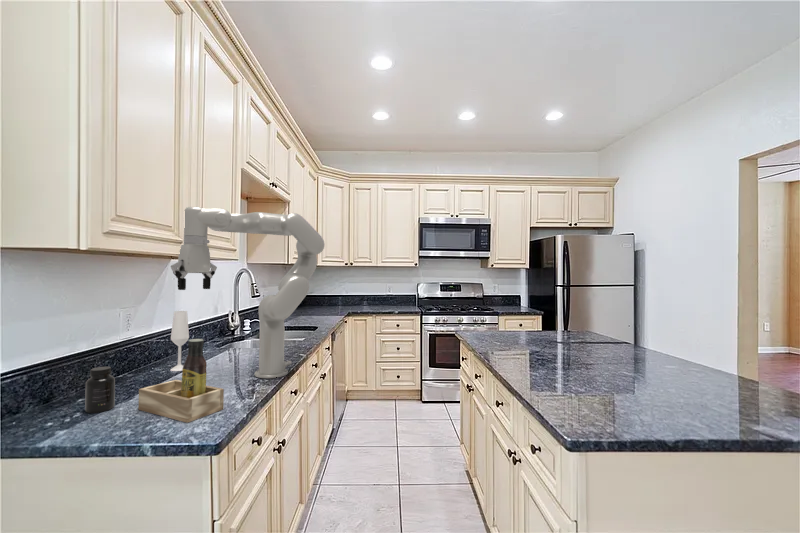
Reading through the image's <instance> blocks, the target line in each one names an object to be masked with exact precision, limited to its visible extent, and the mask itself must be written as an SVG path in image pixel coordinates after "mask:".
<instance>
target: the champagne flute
mask: <svg viewBox="0 0 800 533" xmlns="http://www.w3.org/2000/svg"><path fill="white" fill-rule="evenodd" d="M170 340H171V342H172V343H174V344H175V345H176V346H177V348H178V349H177V364H176V365H175V366H174V367H172V368H170V370H169V371H171V372H181V371H182V369H183V366H184V364H182V346H183V345H184V344H186V342H187V343H188V341H189V340H190V332H189V318H188V311H187V310H178V311H177V310H176V311H173V317H172V326H171V333H170Z"/></svg>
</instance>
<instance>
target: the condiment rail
mask: <svg viewBox="0 0 800 533" xmlns="http://www.w3.org/2000/svg"><path fill="white" fill-rule="evenodd" d="M181 387H182V379H181V380H179V379H173V380H170V381H165V382H162V383H157V384H154V385H149V386H145V387H141V388H139V389H138V404H137V405H138V408H137V409H138V410H139V411H142V412H145V413H150V414H153V415H157V416H161V417H164V418H168V419H172V420H176V421H179V422H183V423H187V424H188V423H190V422H193V421H196V420H198V419H202V418H205V417H206V416H210V415H212V414H215V413H217V412H220V411H223V410H224V402H225V401H224V400H225V399H224V395H225V394H224V391H225V389H224V388H223V387H216V386H212V385H206V391H205V393H204V394H201V395H198V396H195V397H192V398H186V397H181Z"/></svg>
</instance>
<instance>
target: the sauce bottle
mask: <svg viewBox="0 0 800 533" xmlns="http://www.w3.org/2000/svg"><path fill="white" fill-rule="evenodd" d="M204 345H205V339H203V338H192V339H188V340H187V346H188V353H187V356H186V358H185V361H184V364H183V369H182V372H181V375H182V376H181V381H182V387H181V397H186V398H192V397H195V396H198V395H201V394H204V393H205V391H206V386H207V360H206V358H205V357H204V351H203V350H204Z"/></svg>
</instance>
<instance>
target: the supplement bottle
mask: <svg viewBox="0 0 800 533" xmlns="http://www.w3.org/2000/svg"><path fill="white" fill-rule="evenodd" d="M89 373H90V374H89V377H90V378H89V379H87V380H86V381H85V390H84V391H85V392H84V393H85V394H84V395H85V396H84V397H85V399H84V401H85V402H84V403H85V404H84V411H85V412H86V413H88V414H99V413H103V412H107V411H110V410H112V409H113V408H114V407H115V402H116V400H115V399H116V398H115V397H116V377H114V376H113V375H112V367H111V366H98V367H93V368H91V369H90V371H89ZM98 412H99V413H98Z"/></svg>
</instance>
